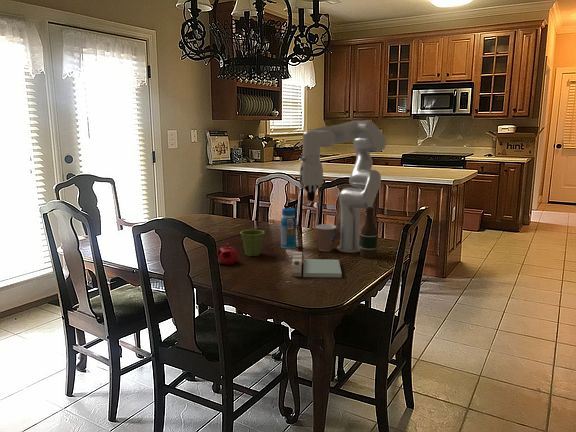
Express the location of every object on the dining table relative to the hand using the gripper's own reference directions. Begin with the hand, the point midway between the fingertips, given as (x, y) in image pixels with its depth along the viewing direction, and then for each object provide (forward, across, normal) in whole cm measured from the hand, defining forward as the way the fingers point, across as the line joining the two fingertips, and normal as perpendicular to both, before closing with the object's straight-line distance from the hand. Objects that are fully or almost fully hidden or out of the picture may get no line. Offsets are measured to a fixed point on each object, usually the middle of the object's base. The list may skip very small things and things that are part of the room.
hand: (310, 200), depth 212 cm
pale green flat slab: (+29, -1, -11) cm, 31 cm away
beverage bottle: (+29, +5, +30) cm, 42 cm away
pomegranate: (+29, -33, +19) cm, 48 cm away
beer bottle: (+29, +30, -4) cm, 42 cm away
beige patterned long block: (+29, -10, -6) cm, 31 cm away
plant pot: (+29, -17, +26) cm, 43 cm away
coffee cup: (+29, +19, +16) cm, 39 cm away
